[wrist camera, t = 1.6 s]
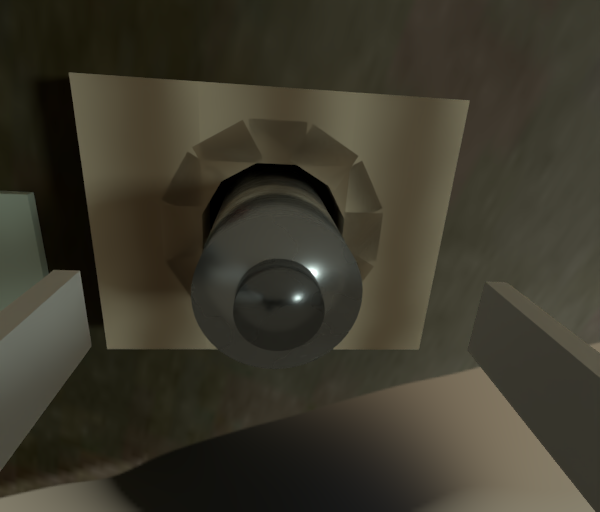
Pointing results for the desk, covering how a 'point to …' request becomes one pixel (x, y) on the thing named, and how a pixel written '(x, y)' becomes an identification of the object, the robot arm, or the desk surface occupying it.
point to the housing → (240, 155)
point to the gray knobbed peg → (275, 274)
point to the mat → (19, 246)
